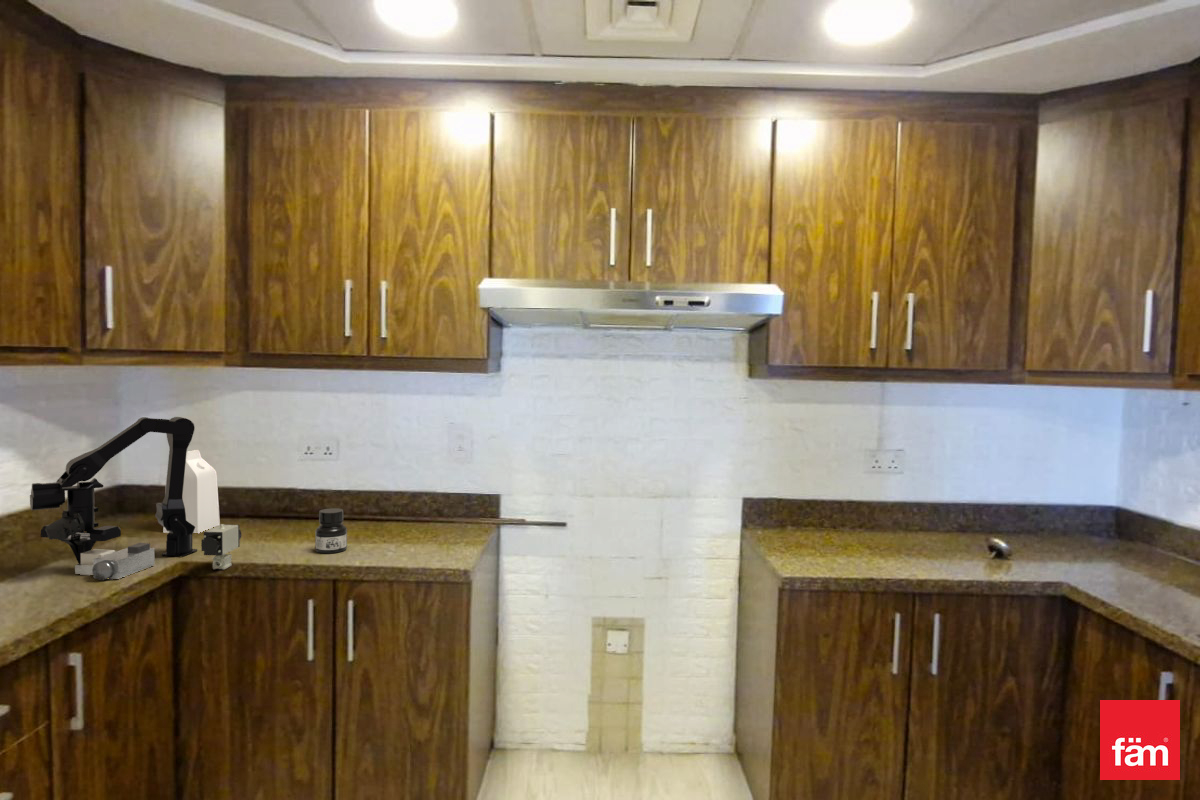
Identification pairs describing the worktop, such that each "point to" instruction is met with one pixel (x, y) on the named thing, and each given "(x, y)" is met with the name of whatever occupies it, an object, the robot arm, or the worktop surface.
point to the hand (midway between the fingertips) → (81, 563)
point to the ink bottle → (331, 532)
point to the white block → (93, 555)
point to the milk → (200, 493)
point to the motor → (119, 562)
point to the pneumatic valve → (221, 544)
